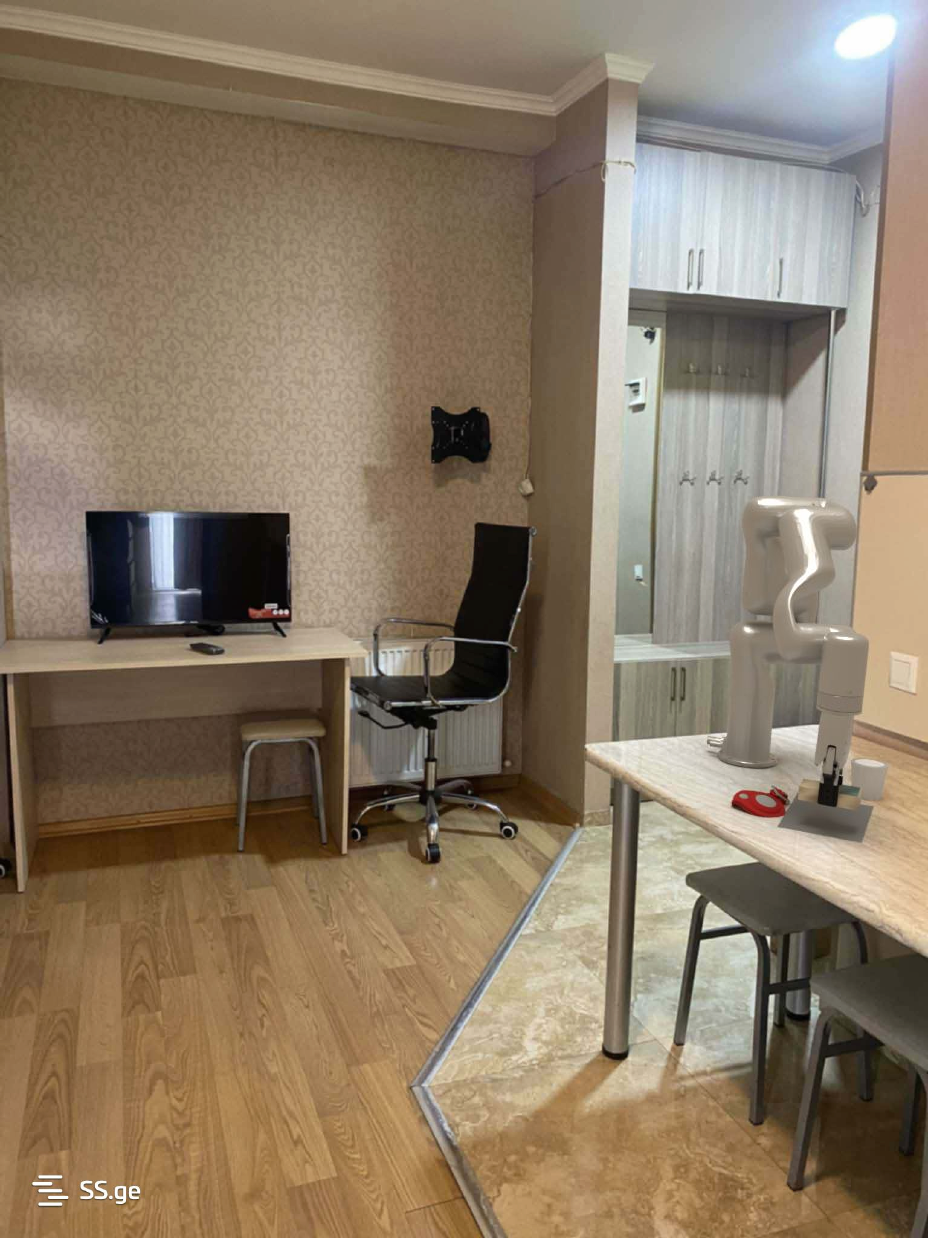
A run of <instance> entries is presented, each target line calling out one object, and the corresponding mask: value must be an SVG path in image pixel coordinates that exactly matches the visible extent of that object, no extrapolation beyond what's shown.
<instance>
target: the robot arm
mask: <svg viewBox="0 0 928 1238" xmlns="http://www.w3.org/2000/svg"><path fill="white" fill-rule="evenodd" d="M853 515H854V514H852V513H851V511H850V510H849V509H847V507H845V506H844V505H841V504H839V503H837V502H835V501H833V500H831V499H828V498H825V497H814V496H813V497H811V496H789V495H761V496H756V497H754V498H751V499H750V500H748V502H746V504H745V506H744V509H743V513H742V520H741V523H742V534H743V538H744V542H745V558H744V559H745V560H744V569H743V578H742V585H741V605H742V608H743V610H744V611H745V612H746V613H748V614H751V615H754V616H755V615H756V616H766V617H767V616H769V617H771V616H772V620H770V619H769V620H768V619H767V620H764V619H762V620H761V619H756V620H755V619H752V620H751V619H750V620H742V621H740V622H737V623H736V624H734V626H732V628H731V630H730V633H729V641H728V642H729V652H730V654H729V655H730V669H731V670H730V685H729V687H730V688H729V700H728V701H729V702H728V712H727V725H726V736H722V737H721V738H720V737H717V736H713V735H712V736H711V735H707V739H706V744H707V745H709V746H710V747H712V748H720V750H719V751H718V753H717V757H718V759H719V760H720V761H722V762H724V763H726V764H729V765H733V766H737V767H744V768H755V769H757V768H759V769H761V768H762V769H763V768H764V769H765V768H770V767H773V766H775V765H776V764H777V759H778V758H777V757H776V756H775V755H774V754H772V753H771V744H772V732H773V731H772V729H773V722H774V721H773V720H774V719H773V718H774V709H775V697H776V696H775V695H776V693H775V692H776V685H775V680H774V678H773V676H772V675H771V674H770V672H769V671H768V670H767V668H766V665H767V666H768V665H807V666H808V665H809V666H810V665H813V666H814V665H815V666H817V665H818V666H820V668H819V676H818V677H819V678H818V687H817V696H816V698H817V699H816V707H815V708H816V709H817V710H819V711H820V716H819V717H820V719H819V722H818V723H819V724H818V730H817V739H816V746H815V752H814V761H813V764H814V766H815V767H818V766H821V765H822V768H821V775H820V781H821V782H820V784H819V793H818V804H820V805H825V806H830V807H836V806H837V801H838V792H839V785H843V781H844V775H843V774H844V773H843V772H844V767H845V765H846V763H847V761H848V759H849V754H850V749H851V744H852V737H853V729H854V721H855V720H854V719H855V716H859V715H861V714H862V713H863V704H864V694H865V686H866V677H867V668H868V658H869V650H870V643H869V639H868V638H867V637H866V636H865V635H863V634H861V633H857V631H856V630H855V629H854V628H853V627H851V626H849V625H845V624H832V623H817V622H816V621H817V616H818V608H819V607H818V606H819V592H821V591H822V590H824V589H826V588H827V587H829V586H830V585H831V584H832V583H833V582H834V580H835V578H836V574H837V573H836V567H835V564H834V561H833V557H832V556H833V555H832V551H846V550H849V549H850V548H851V547H852V546H853V545H854V543H855V542H856V539H857V533H858V528H857V524H856V520H855V518H854V516H853Z"/></svg>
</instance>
